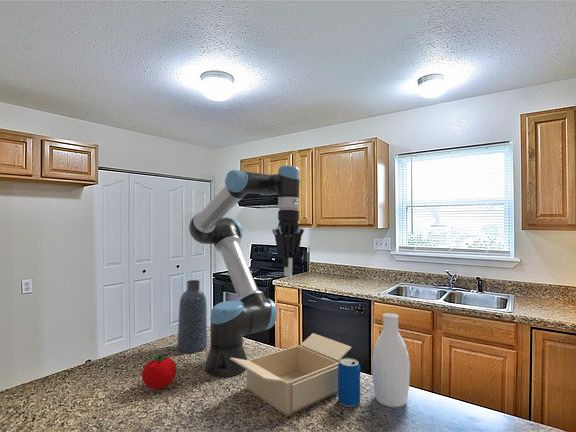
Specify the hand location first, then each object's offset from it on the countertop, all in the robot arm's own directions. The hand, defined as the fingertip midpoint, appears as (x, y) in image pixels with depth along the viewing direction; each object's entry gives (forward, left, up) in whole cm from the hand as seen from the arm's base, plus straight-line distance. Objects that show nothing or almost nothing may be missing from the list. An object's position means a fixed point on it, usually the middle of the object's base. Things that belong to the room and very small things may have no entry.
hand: (288, 276), depth 119 cm
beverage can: (+26, +2, -35) cm, 43 cm away
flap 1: (+10, -17, -25) cm, 32 cm away
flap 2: (+10, +5, -25) cm, 28 cm away
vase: (-45, -15, -35) cm, 59 cm away
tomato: (-19, -38, -35) cm, 55 cm away
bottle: (+33, +13, -35) cm, 50 cm away
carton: (+10, -6, -34) cm, 36 cm away
